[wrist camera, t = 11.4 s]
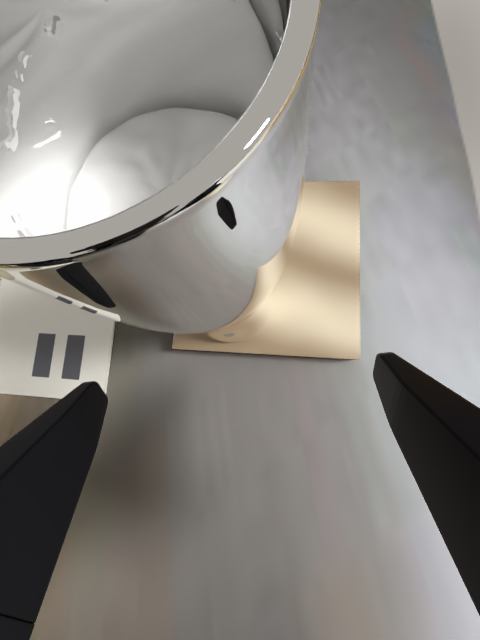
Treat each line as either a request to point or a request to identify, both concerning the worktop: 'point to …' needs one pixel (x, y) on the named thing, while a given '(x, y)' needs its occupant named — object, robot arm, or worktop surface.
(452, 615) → the worktop surface
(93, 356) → the card
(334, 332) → the birch board
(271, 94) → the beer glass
